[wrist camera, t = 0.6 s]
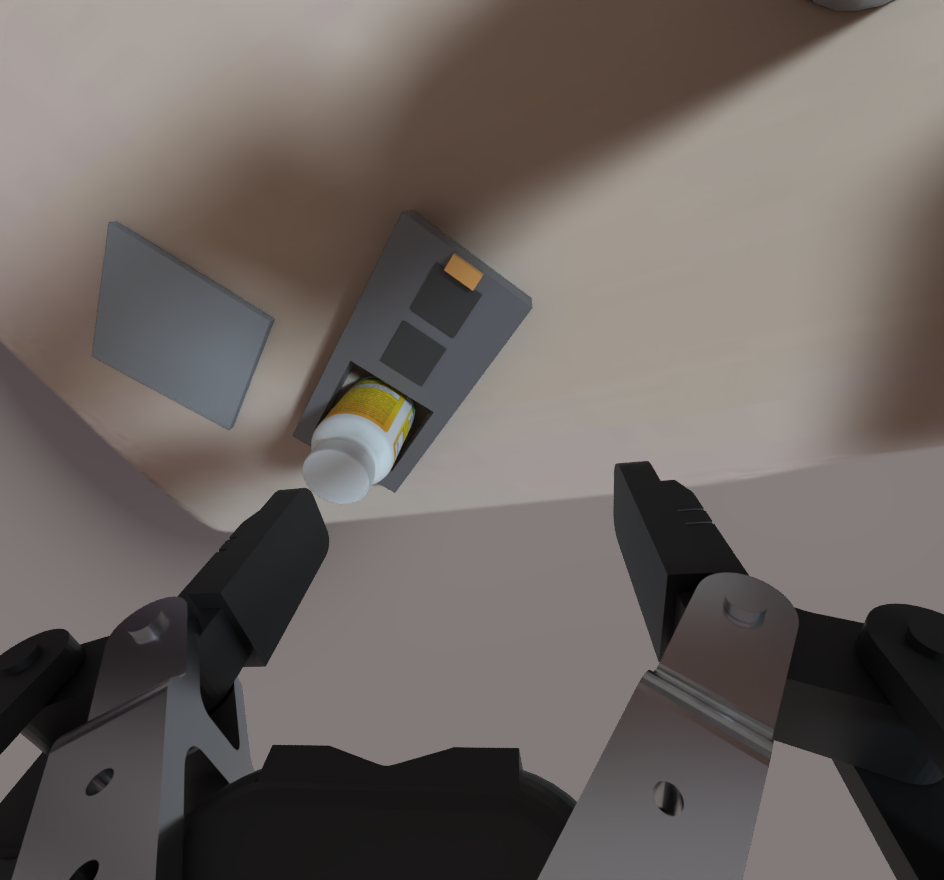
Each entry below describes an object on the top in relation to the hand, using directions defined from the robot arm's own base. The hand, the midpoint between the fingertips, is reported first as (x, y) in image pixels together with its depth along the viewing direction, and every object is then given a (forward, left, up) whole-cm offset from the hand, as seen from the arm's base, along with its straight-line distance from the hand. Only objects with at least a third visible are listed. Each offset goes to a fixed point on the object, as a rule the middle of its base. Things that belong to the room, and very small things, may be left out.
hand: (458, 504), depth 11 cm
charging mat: (+15, -18, -20) cm, 31 cm away
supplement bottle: (+11, -3, -20) cm, 23 cm away
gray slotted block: (+7, -3, -20) cm, 21 cm away
